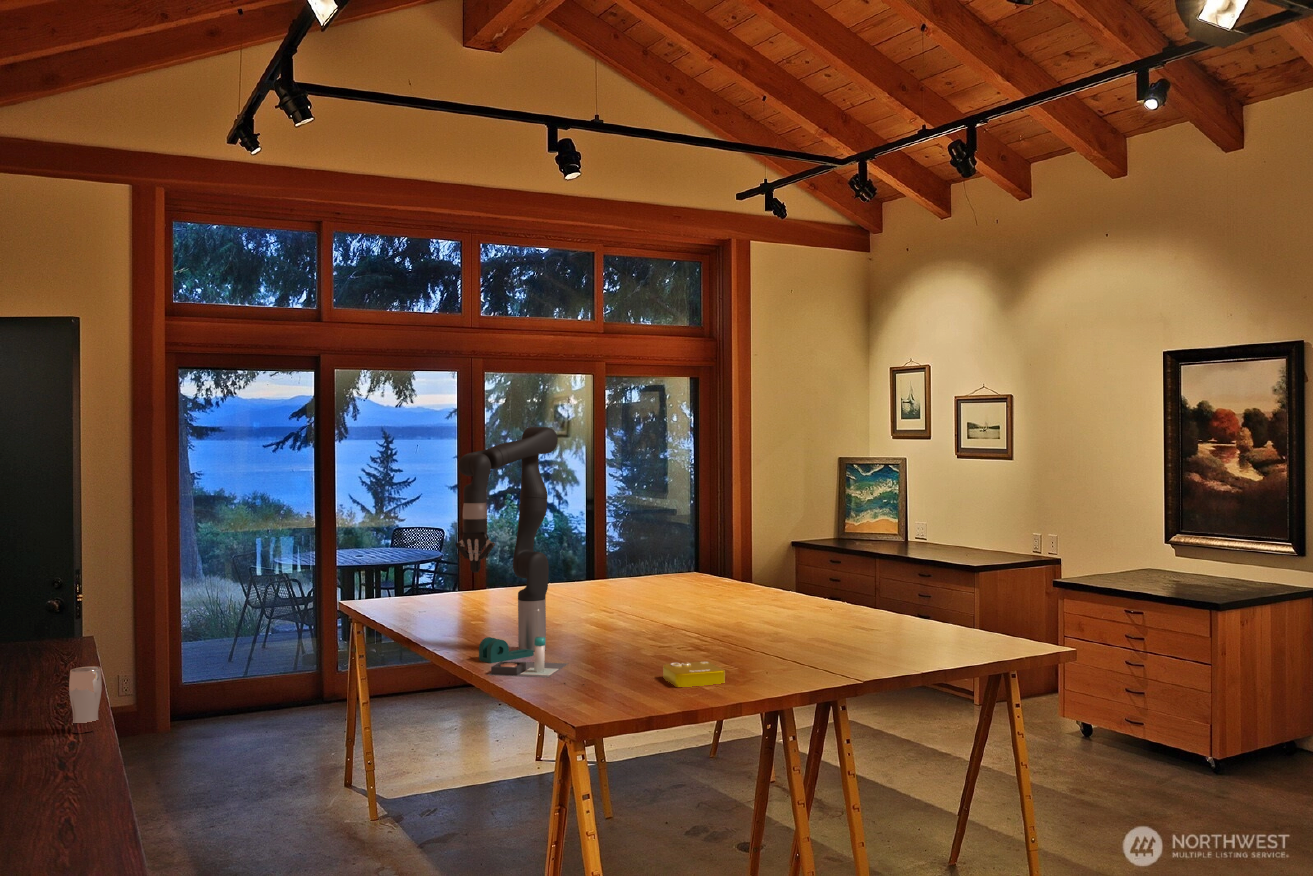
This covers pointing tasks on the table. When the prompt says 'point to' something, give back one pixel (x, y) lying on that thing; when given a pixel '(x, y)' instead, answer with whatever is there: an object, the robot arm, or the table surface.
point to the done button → (508, 665)
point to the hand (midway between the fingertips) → (475, 572)
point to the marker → (539, 654)
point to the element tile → (693, 674)
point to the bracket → (499, 651)
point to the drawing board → (526, 669)
